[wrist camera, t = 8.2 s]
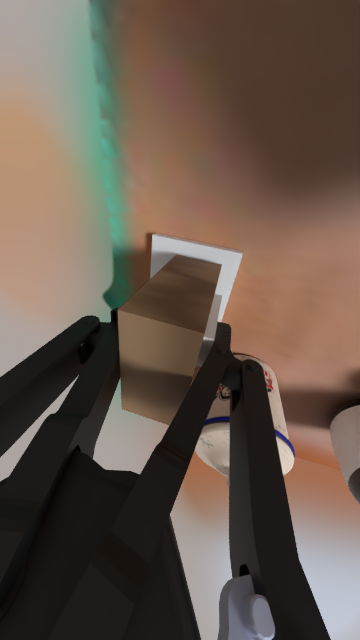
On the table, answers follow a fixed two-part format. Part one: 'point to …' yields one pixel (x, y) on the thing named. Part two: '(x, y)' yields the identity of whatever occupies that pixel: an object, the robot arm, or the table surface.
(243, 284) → the table surface
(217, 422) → the teacup with lid
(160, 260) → the grey board
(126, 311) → the walnut slab
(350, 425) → the spread jar
